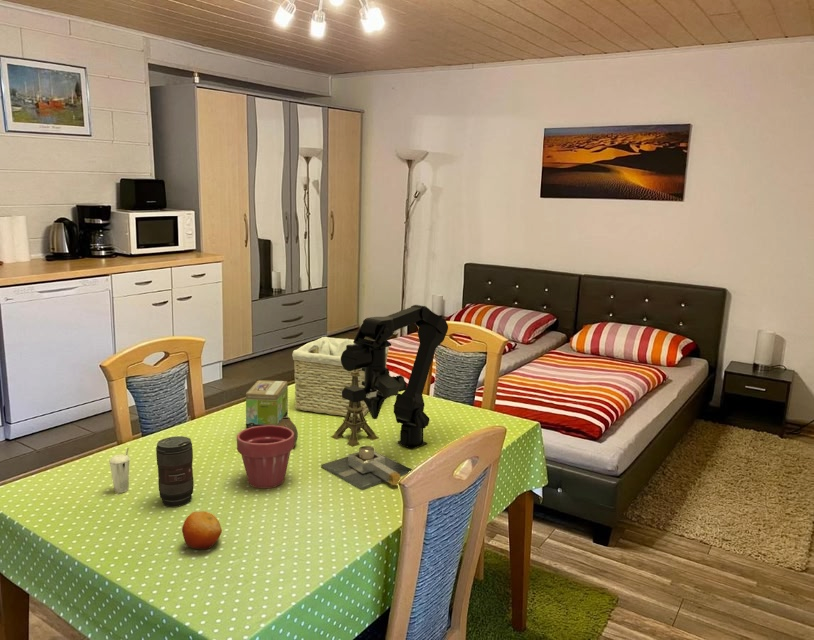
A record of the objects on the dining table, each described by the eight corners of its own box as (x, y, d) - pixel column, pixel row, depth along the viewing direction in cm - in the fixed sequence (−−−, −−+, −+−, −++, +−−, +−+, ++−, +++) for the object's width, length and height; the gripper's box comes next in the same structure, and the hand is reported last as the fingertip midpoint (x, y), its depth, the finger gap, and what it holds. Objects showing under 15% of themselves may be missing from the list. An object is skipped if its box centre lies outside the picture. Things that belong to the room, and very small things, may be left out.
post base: (370, 452, 188) (370, 432, 186) (412, 472, 174) (412, 451, 173) (321, 467, 176) (321, 446, 175) (361, 490, 163) (362, 467, 162)
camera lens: (201, 495, 159) (199, 437, 156) (181, 510, 151) (178, 449, 149) (173, 490, 161) (170, 433, 158) (151, 505, 154) (148, 445, 151)
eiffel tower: (330, 437, 199) (330, 358, 194) (357, 429, 206) (357, 352, 201) (352, 447, 191) (352, 364, 187) (379, 438, 199) (380, 359, 194)
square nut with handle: (348, 464, 176) (348, 454, 175) (370, 458, 180) (370, 449, 180) (384, 487, 162) (384, 477, 162) (407, 480, 167) (408, 470, 166)
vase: (292, 452, 187) (292, 423, 185) (270, 449, 188) (269, 421, 186) (301, 443, 193) (300, 415, 192) (279, 441, 195) (278, 413, 193)
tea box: (278, 441, 195) (277, 393, 192) (245, 440, 195) (243, 393, 192) (288, 424, 210) (287, 379, 207) (257, 423, 210) (256, 379, 207)
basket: (390, 397, 239) (391, 340, 235) (365, 421, 213) (365, 357, 209) (323, 390, 246) (322, 334, 242) (290, 412, 221) (289, 350, 217)
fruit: (178, 529, 140) (197, 499, 139) (211, 545, 141) (229, 516, 140) (168, 549, 132) (187, 517, 131) (203, 566, 133) (222, 535, 133)
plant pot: (286, 466, 177) (286, 421, 175) (301, 486, 165) (300, 439, 162) (233, 474, 171) (231, 428, 169) (244, 497, 158) (242, 447, 156)
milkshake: (138, 486, 163) (135, 449, 161) (122, 495, 158) (119, 457, 156) (123, 483, 164) (120, 446, 163) (107, 492, 160) (104, 454, 158)
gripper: (366, 376, 165) (366, 434, 168) (420, 364, 177) (419, 419, 180) (340, 367, 173) (340, 423, 176) (393, 356, 185) (393, 409, 188)
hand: (374, 418), depth 180 cm, fingers closed
